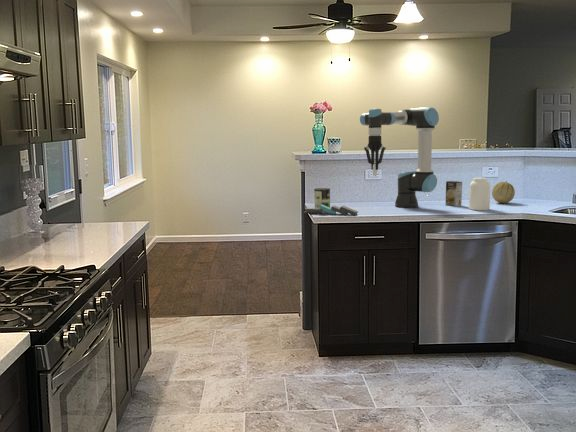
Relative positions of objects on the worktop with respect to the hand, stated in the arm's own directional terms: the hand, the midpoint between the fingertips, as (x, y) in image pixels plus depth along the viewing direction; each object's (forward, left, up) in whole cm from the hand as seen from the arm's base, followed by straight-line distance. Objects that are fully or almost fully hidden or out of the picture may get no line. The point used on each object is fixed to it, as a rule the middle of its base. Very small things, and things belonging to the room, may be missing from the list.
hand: (374, 175), depth 364 cm
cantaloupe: (-63, -87, -25) cm, 110 cm away
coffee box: (-34, -65, -25) cm, 77 cm away
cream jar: (-53, -50, -25) cm, 77 cm away
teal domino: (+25, +1, -23) cm, 34 cm away
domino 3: (+18, 0, -24) cm, 29 cm away
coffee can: (+39, -12, -25) cm, 48 cm away
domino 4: (+12, 0, -23) cm, 26 cm away
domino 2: (+35, +1, -24) cm, 42 cm away
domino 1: (+33, +2, -22) cm, 40 cm away
